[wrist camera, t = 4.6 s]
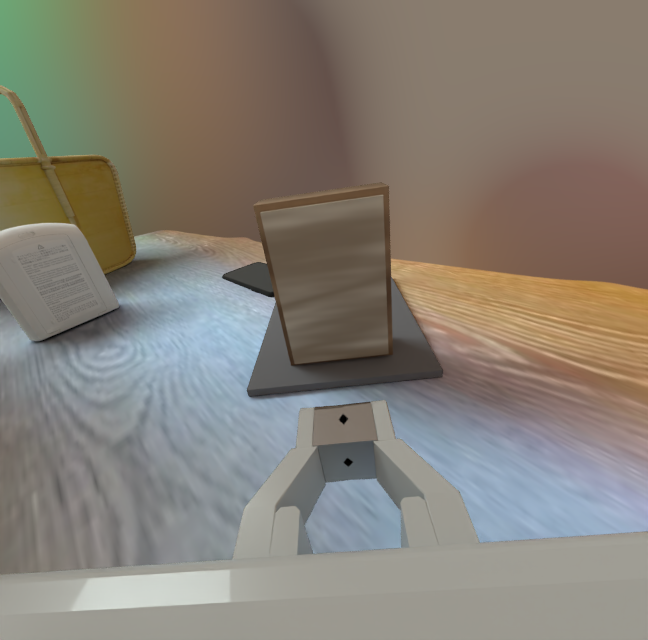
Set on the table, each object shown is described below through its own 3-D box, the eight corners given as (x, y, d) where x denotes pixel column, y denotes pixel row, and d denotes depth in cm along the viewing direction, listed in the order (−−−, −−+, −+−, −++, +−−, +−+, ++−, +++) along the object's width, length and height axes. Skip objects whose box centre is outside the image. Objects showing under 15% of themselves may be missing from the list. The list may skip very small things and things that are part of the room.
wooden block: (394, 357, 22) (390, 186, 17) (290, 368, 23) (251, 206, 17) (386, 336, 25) (381, 182, 19) (294, 346, 26) (261, 199, 20)
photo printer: (112, 302, 44) (65, 215, 38) (126, 306, 41) (79, 215, 35) (26, 339, 36) (-49, 238, 30) (38, 346, 34) (-40, 239, 28)
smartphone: (258, 261, 51) (315, 274, 41) (259, 266, 51) (316, 280, 41) (219, 275, 47) (271, 294, 37) (220, 281, 47) (273, 300, 37)
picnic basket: (-70, 308, 54) (-244, 111, 40) (66, 261, 76) (-15, 122, 61) (40, 307, 46) (-127, 59, 32) (157, 255, 68) (90, 93, 53)
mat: (442, 376, 21) (442, 370, 21) (248, 396, 22) (246, 390, 21) (389, 278, 37) (389, 274, 37) (281, 291, 38) (280, 287, 38)
